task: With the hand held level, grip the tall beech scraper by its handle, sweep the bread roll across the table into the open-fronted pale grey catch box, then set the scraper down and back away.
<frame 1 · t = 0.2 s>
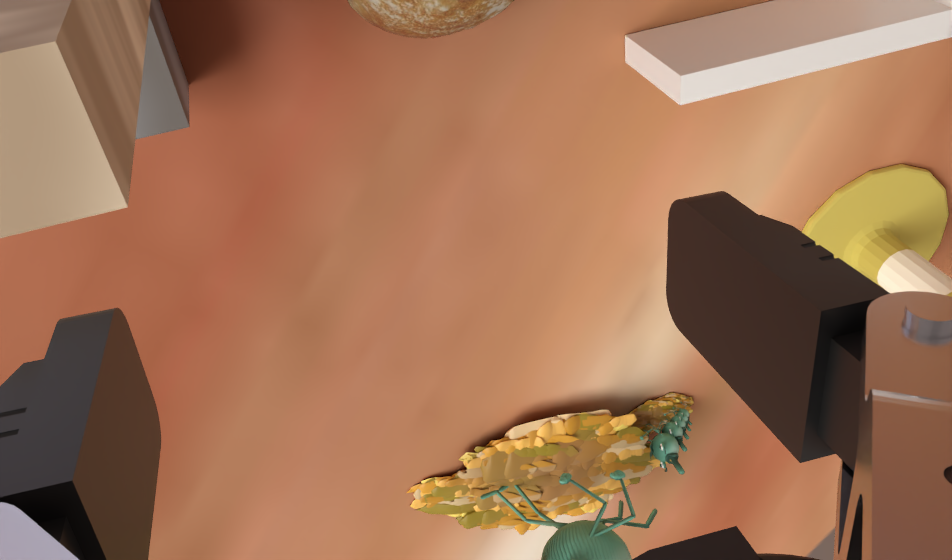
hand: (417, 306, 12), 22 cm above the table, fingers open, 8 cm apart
candle: (864, 243, 47), on the table
frog figurine: (552, 456, 50), on the table
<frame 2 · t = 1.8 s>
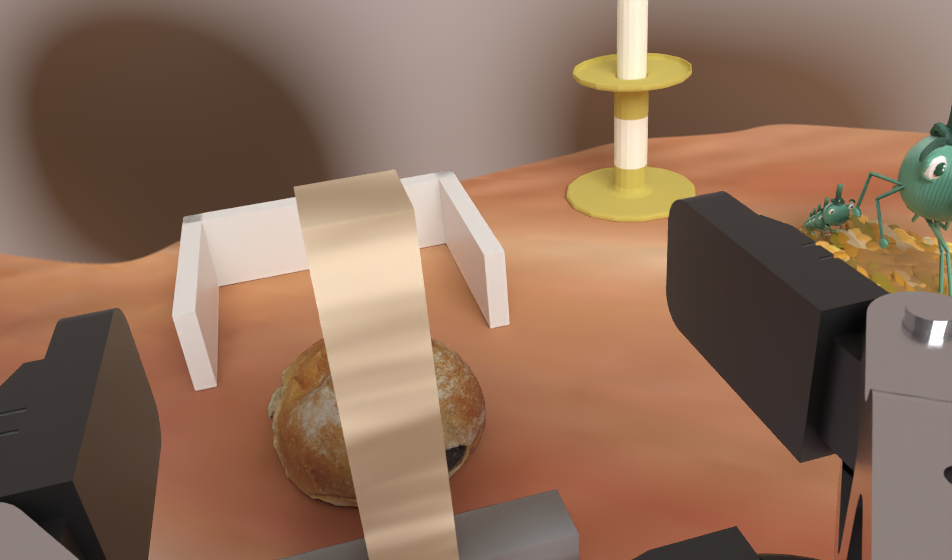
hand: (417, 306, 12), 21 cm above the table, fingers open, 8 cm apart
candle: (630, 196, 65), on the table
bread roll: (377, 446, 42), on the table
catch box: (345, 306, 53), on the table
frog figurine: (909, 292, 50), on the table
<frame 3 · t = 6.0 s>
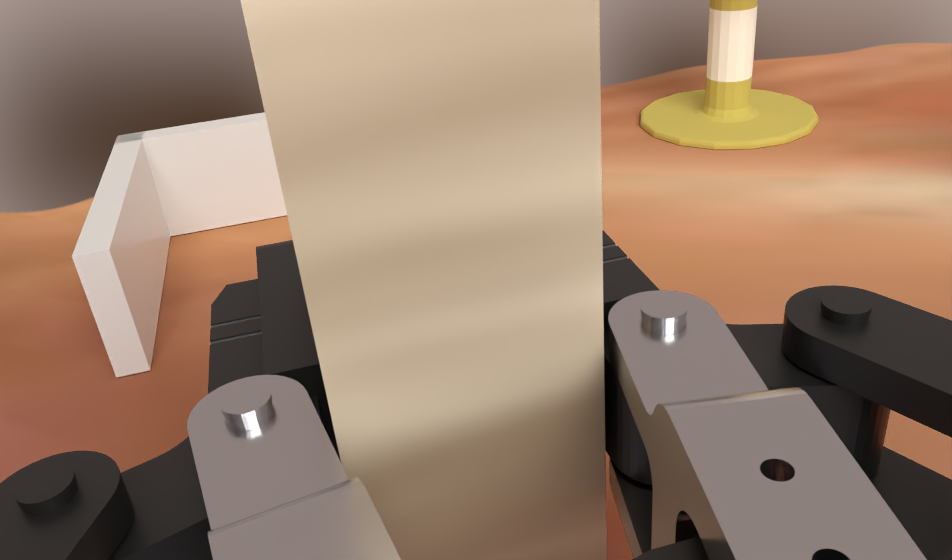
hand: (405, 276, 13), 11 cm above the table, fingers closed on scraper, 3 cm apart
candle: (725, 122, 49), on the table
catch box: (346, 257, 37), on the table
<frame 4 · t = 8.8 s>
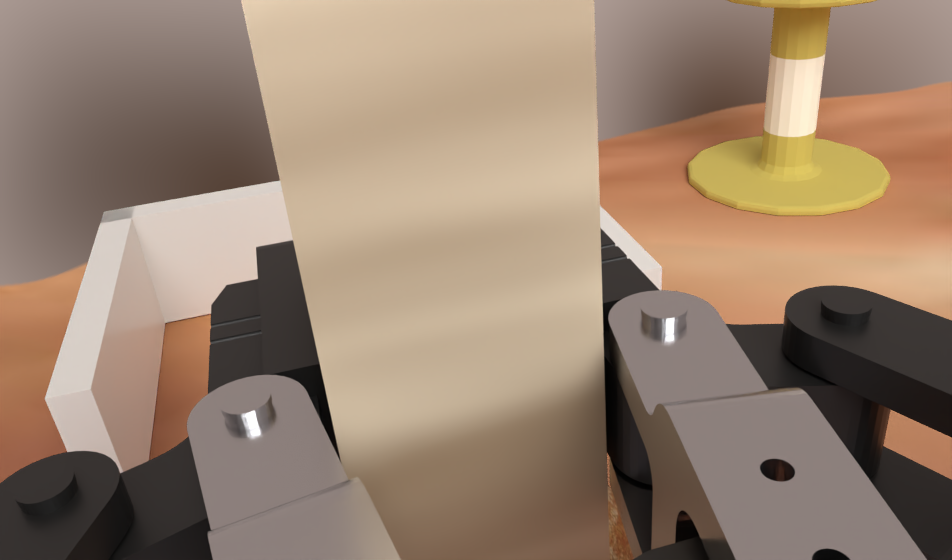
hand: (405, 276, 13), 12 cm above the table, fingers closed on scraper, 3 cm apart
candle: (784, 178, 44), on the table
catch box: (369, 357, 32), on the table
when the fingers open (11 cm above the table, at t = 13.6 s): scraper moves 5 cm and tips over, resting on bread roll.
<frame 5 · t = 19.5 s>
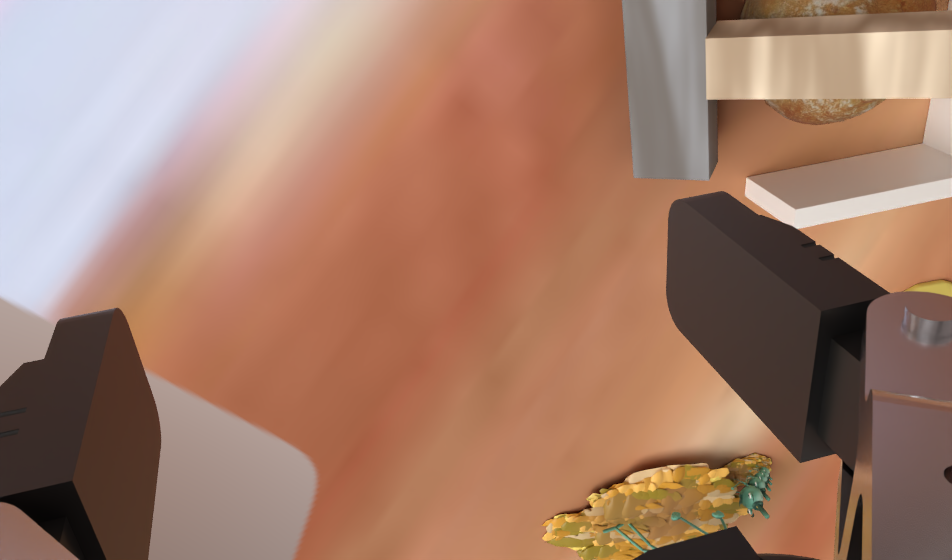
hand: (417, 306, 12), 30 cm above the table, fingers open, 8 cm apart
candle: (912, 340, 59), on the table
bread roll: (814, 13, 46), on the table, touching scraper
catch box: (854, 24, 46), on the table
scraper: (632, 61, 43), point 1 cm above the table, tilted 51°, touching bread roll
frog figurine: (656, 503, 60), on the table
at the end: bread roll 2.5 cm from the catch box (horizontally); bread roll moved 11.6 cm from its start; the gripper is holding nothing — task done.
